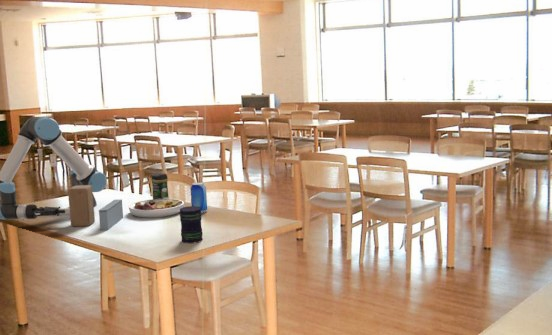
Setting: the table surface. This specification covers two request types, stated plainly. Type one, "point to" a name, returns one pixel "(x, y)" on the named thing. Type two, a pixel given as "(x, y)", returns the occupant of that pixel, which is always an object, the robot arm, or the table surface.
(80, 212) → the wooden block
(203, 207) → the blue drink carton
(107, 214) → the beam
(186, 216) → the storage jar
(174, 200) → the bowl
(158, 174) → the coffee jar
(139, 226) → the table surface
